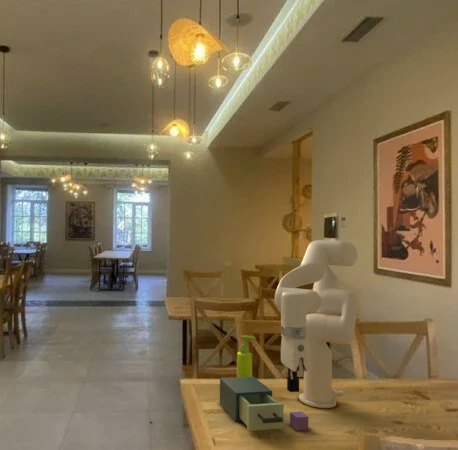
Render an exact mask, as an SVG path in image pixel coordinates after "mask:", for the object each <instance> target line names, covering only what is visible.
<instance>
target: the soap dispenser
mask: <svg viewBox="0 0 458 450" xmlns="http://www.w3.org/2000/svg"><path fill="white" fill-rule="evenodd" d="M241 339H242V343H240V347H239V348H240V351H237V353H236V377H251V376H253V353H252V352H250V344H249V343H248V339H251V340H255V339H256V337H255V336H253V335H241Z"/></svg>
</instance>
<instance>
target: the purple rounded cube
mask: <svg viewBox="0 0 458 450" xmlns="http://www.w3.org/2000/svg"><path fill="white" fill-rule="evenodd" d="M289 426H291V428H293V429H294V430H295V431H297V432H298V431H308V430H309V416H308V415H307V414H306V413H304V412H303V411H289Z"/></svg>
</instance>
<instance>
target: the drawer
mask: <svg viewBox="0 0 458 450" xmlns="http://www.w3.org/2000/svg"><path fill="white" fill-rule="evenodd" d="M238 417H239V418H240V419H241V420H242V421H241V422H243V423H244V424H245V425H246V430H247V431H248V432H253V431H254V432H255V431H268V430H280V429H281V430H282V429H284V403H283V402H278V401H277V400H276V399H275V398H273V396H272V397H271V396H270V395H268V394H253V395H238Z"/></svg>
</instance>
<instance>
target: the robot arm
mask: <svg viewBox="0 0 458 450" xmlns="http://www.w3.org/2000/svg"><path fill="white" fill-rule="evenodd" d="M357 260H358V251H357V247H356V246H355V245H354V244H353V243H351V242H348V241H346V240H334V239H316V240H313V241H311V242H310V243H309V244H308V246H307V248H306V250H305V253H304V255H303V258H302V260H301V263H300V265H299V266H297V267H295V268H293V269H292V270H290V271H289V272H287V273H285V275H283V276H282V278H281V279H280V280H279V283H278V284H277V287H276V290H275V293H274V304H275V305H276V307H277V308H278V309H280V336H281V339H280V341H281V343H280V362H281V364H282V365H283V367H284V368H285V373H286V377H287V378H286V390H287V391H288V392H289V393H298V392H300V380H301V378H303V392H301V393H300V394H299V395H298V399H299V401H300V402H301V403H302V404H304V405H307V406H309V407H312V408H319V409H331V408H334V407H336V406H337V400H336V398H337V397H340V398H341V397H344V396H345V392H344V391H343V390H336V389H333V354H332V351H331V349H330V347H329V345H328V344H327V343H330V344H339V345H345V346H346V345H350V344H351V343H352V342H353V340H354V335H355V329H356V321H357V312H358V299H357V295H356V294H355V293H354V292H353V291H351V290H347V289H340V288H339V289H338V287H339V286H338V285H339V277H338V276H337V274H336V273H335V272H334V271H333V270H332V268H330V266H339V267H352V266H354V265H355V264H356V263H357ZM310 284H313V285H312V289H308V288H307V289H306V288H299V287H303V286H306V285H310Z"/></svg>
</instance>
